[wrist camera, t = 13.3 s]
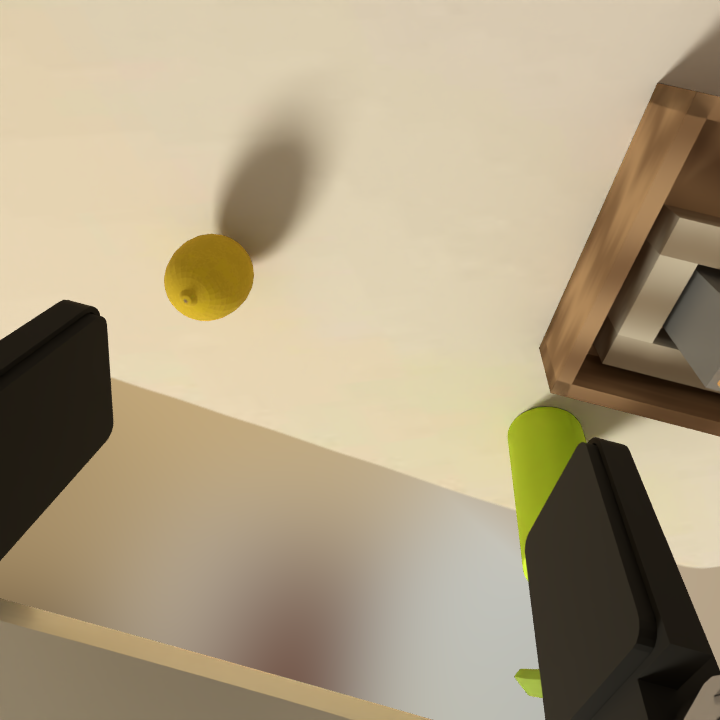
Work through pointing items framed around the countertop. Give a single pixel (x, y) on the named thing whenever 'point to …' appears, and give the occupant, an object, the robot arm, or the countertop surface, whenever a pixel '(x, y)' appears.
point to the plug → (699, 324)
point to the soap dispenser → (538, 479)
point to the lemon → (209, 277)
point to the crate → (644, 271)
